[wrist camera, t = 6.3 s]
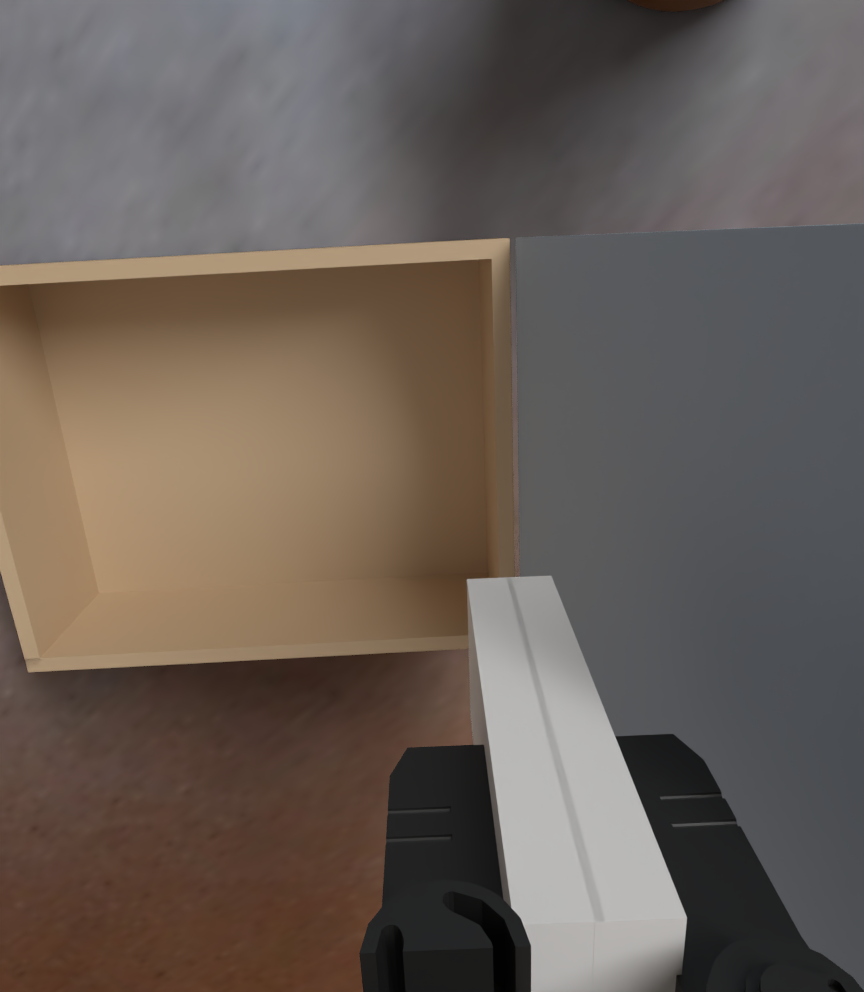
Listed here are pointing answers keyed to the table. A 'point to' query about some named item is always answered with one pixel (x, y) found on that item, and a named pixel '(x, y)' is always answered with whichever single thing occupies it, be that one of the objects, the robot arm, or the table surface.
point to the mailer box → (254, 452)
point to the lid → (714, 519)
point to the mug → (674, 4)
